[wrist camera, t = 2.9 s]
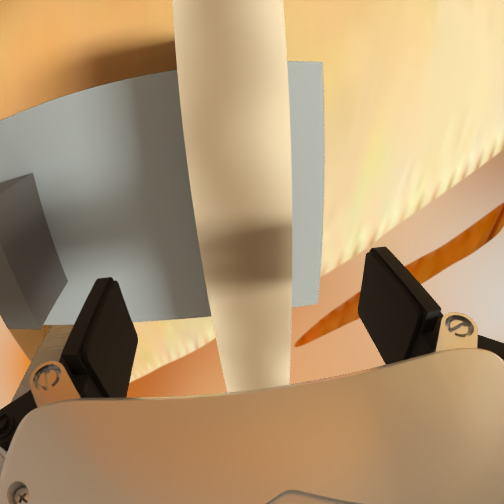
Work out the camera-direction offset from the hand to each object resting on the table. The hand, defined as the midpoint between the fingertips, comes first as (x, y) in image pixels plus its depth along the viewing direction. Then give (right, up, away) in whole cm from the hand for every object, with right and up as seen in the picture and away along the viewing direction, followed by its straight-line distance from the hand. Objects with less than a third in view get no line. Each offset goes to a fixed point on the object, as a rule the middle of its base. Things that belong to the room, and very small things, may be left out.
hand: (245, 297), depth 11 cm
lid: (-9, +4, +7) cm, 12 cm away
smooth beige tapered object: (0, +4, +6) cm, 7 cm away
